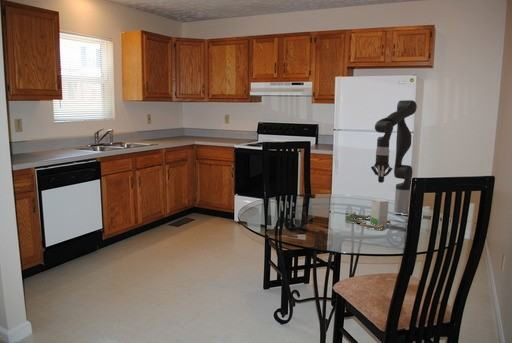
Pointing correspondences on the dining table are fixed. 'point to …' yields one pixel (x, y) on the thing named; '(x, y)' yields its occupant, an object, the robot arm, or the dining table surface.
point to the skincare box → (379, 211)
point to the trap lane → (362, 223)
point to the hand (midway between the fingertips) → (380, 182)
